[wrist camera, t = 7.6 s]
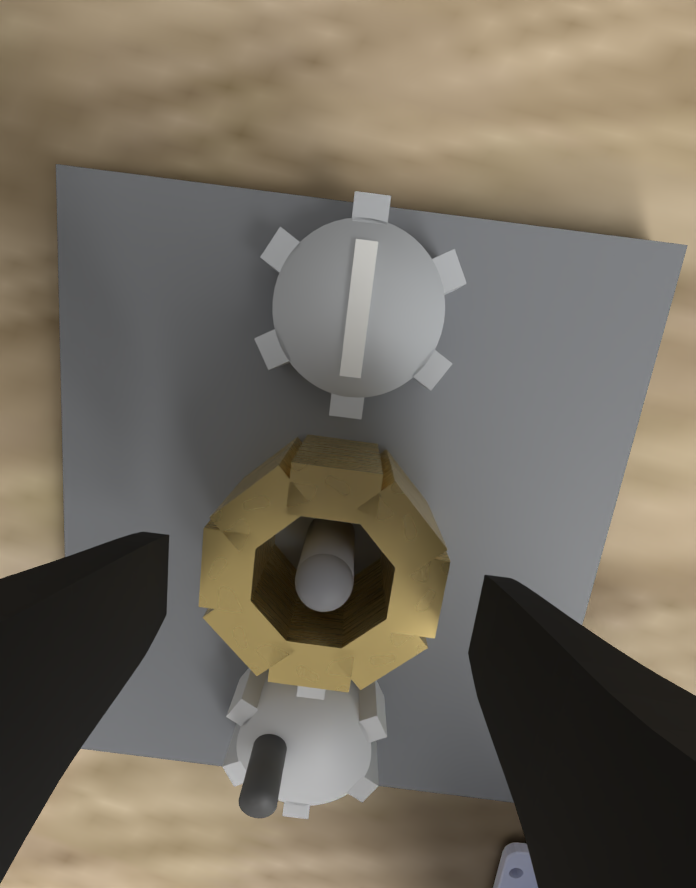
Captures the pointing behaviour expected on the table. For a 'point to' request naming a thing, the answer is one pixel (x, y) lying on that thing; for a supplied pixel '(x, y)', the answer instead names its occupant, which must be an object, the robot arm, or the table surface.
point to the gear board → (344, 417)
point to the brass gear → (273, 576)
